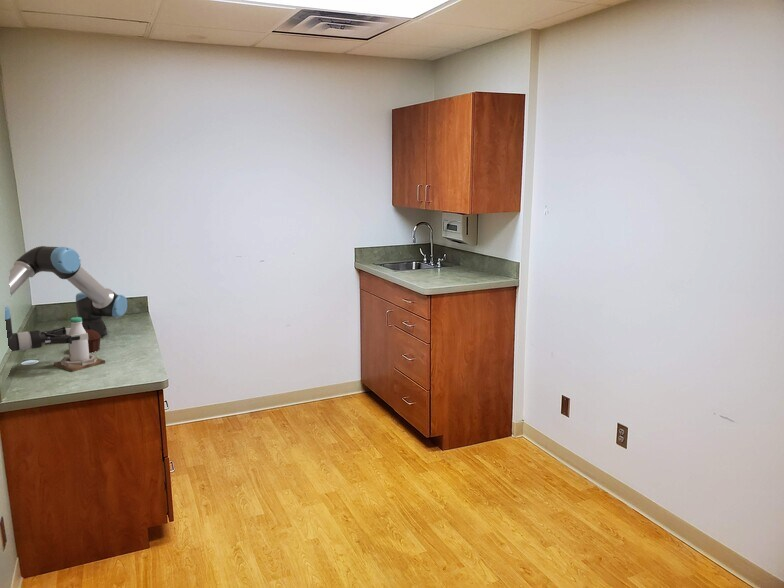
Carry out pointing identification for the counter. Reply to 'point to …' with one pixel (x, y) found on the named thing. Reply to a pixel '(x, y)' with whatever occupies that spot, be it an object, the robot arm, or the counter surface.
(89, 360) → the ring stand
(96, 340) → the muffin
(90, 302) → the robot arm
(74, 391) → the counter surface
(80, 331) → the milk bottle
